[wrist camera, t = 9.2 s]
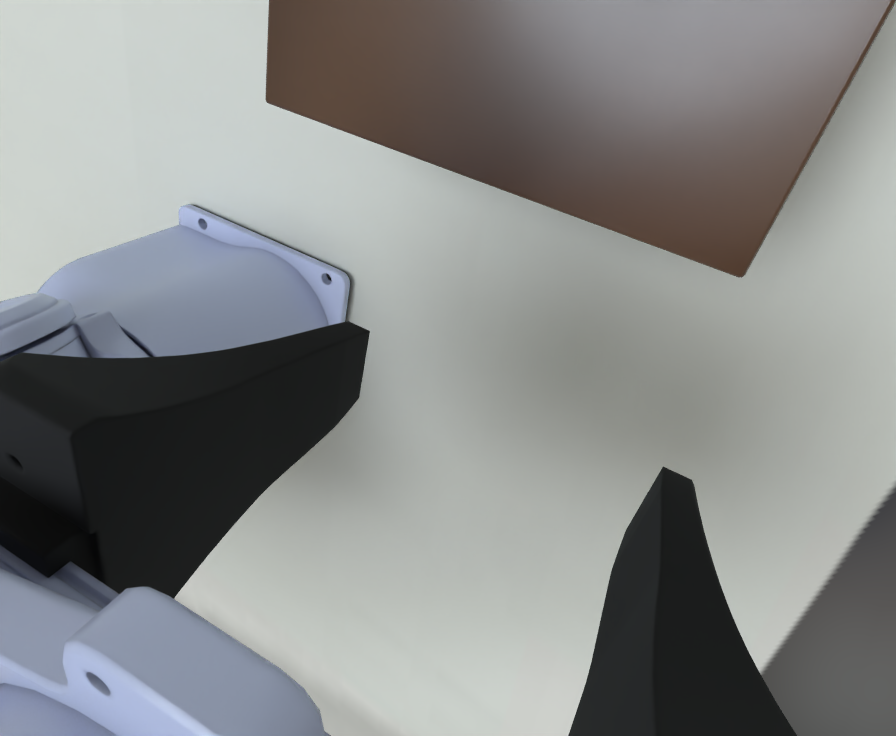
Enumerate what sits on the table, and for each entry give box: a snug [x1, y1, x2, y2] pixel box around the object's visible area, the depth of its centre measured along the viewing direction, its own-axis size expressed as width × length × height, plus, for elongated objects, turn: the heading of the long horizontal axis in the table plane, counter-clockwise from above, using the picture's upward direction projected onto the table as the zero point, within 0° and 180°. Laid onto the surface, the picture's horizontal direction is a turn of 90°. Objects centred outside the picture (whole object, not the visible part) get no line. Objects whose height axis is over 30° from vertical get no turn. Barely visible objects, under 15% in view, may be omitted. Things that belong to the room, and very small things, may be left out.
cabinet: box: [266, 0, 896, 277], centre depth 15 cm, size 13×8×7 cm, turn 76°
